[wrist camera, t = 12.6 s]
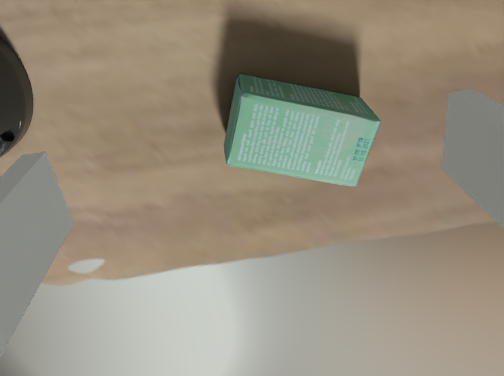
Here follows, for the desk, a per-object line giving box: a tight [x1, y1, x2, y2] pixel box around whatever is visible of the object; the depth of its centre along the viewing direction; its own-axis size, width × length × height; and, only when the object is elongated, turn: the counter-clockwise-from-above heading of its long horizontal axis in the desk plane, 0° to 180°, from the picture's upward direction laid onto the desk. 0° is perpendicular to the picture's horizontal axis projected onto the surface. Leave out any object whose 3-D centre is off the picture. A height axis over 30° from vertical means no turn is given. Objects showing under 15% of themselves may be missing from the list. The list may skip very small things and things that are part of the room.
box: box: [224, 74, 381, 187], centre depth 43 cm, size 7×14×8 cm, turn 78°
